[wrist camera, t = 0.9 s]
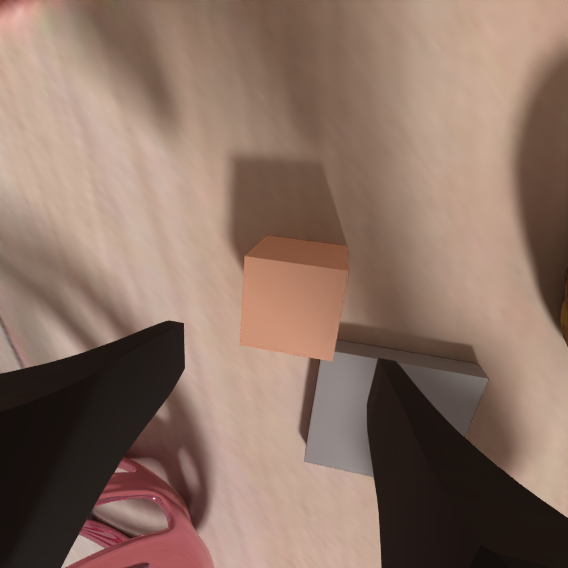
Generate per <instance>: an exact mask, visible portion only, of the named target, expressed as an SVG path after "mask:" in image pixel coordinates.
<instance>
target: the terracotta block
mask: <svg viewBox="0 0 568 568" xmlns="http://www.w3.org/2000/svg"><path fill="white" fill-rule="evenodd" d="M348 274H349V264H348V250H347V246H343V245H336V244H328V243H321V242H313V241H306V240H299V239H291V238H284V237H276V236H269V235H267V236H266V237H264V238H263V239H262V240H261V241H260V242H259V243H258V244H257V245H256V246H255V247H254V248H253V249H252V250H250V251H249V252H248V253H247V254H246V255H245V256H244V274H243V294H242V313H241V333H240V345H243V346H249V347H255V348H260V349H266V350H271V351H277V352H282V353H288V354H293V355H299V356H304V357H310V358H316V359H321V360H327V361H332V362H333V356H334V351H335V345H336V340H337V334H338V329H339V323H340V318H341V312H342V307H343V301H344V296H345V290H346V285H347V279H348Z"/></svg>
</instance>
